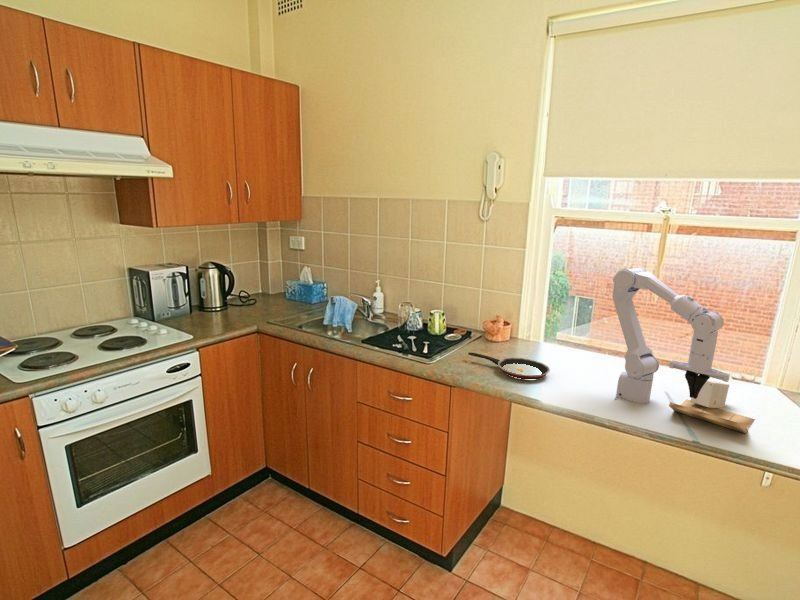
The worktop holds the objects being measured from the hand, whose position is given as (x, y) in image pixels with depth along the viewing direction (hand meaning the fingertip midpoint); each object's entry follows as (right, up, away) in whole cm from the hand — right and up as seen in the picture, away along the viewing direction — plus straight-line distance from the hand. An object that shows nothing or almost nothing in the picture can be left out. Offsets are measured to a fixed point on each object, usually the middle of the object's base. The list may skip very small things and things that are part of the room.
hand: (693, 397), depth 131 cm
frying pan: (-46, +1, +40) cm, 61 cm away
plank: (+3, -6, -2) cm, 7 cm away
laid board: (+10, -7, +6) cm, 14 cm away
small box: (+17, -2, +14) cm, 22 cm away
